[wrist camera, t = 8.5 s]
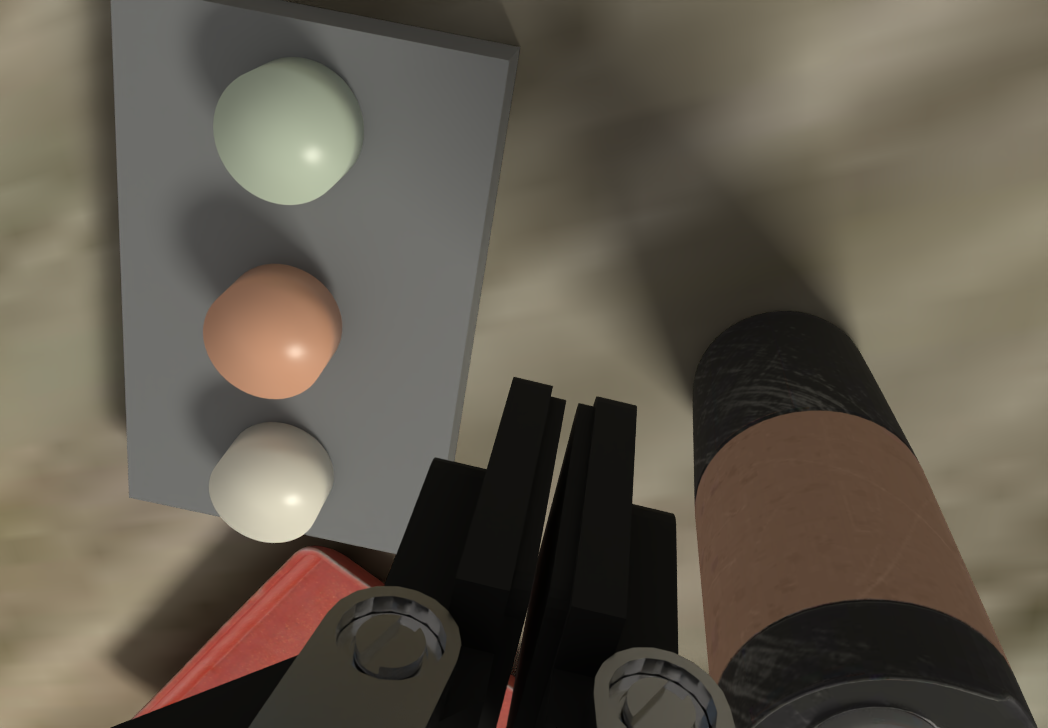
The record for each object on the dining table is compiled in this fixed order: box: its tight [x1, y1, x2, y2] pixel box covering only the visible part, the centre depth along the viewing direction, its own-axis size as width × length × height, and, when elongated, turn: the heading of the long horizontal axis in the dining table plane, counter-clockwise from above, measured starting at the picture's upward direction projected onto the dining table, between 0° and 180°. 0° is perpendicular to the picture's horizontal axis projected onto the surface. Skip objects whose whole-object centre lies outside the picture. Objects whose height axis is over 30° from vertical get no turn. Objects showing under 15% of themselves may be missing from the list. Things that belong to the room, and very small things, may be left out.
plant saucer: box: [131, 546, 515, 728], centre depth 50 cm, size 18×18×3 cm
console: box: [111, 0, 520, 554], centre depth 39 cm, size 22×14×3 cm, turn 170°
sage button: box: [213, 57, 364, 205], centre depth 33 cm, size 5×5×2 cm
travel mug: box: [693, 311, 1037, 728], centre depth 31 cm, size 8×8×20 cm
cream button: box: [209, 422, 334, 543], centre depth 40 cm, size 5×5×2 cm
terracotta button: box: [203, 264, 342, 399], centre depth 35 cm, size 5×5×2 cm
